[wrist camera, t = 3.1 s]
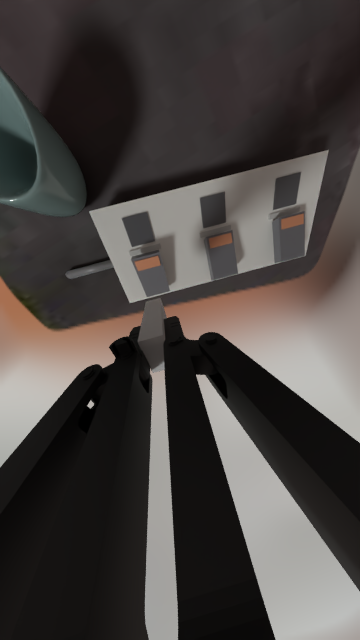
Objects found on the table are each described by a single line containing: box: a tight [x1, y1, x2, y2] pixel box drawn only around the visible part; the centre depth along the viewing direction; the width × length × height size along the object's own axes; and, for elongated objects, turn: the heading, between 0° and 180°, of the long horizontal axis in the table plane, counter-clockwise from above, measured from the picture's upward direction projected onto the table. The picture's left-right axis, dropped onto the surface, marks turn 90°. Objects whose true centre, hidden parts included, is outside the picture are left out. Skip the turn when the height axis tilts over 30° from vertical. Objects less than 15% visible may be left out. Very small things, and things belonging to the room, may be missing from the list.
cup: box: [0, 67, 87, 217], centre depth 13 cm, size 8×8×10 cm
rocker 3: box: [272, 211, 305, 263], centre depth 19 cm, size 6×4×1 cm, turn 13°
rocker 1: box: [131, 249, 170, 297], centre depth 19 cm, size 6×4×1 cm, turn 13°
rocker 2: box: [204, 230, 238, 280], centre depth 19 cm, size 6×4×1 cm, turn 13°
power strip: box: [66, 150, 329, 303], centre depth 21 cm, size 12×39×4 cm, turn 103°
